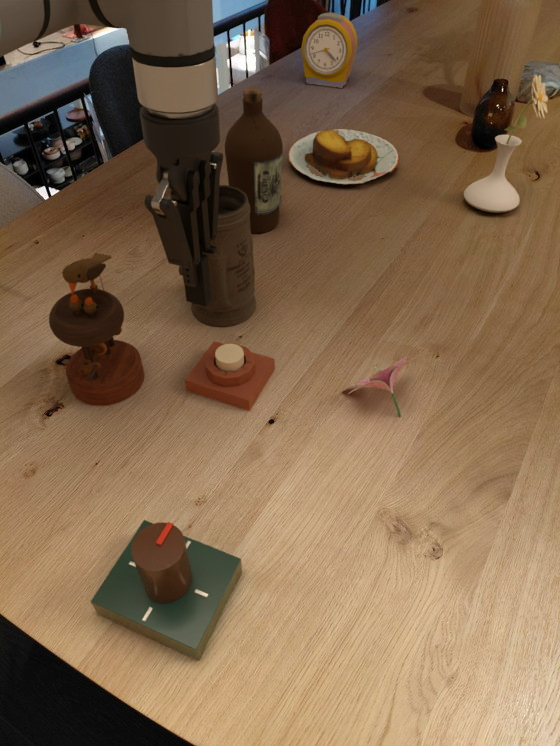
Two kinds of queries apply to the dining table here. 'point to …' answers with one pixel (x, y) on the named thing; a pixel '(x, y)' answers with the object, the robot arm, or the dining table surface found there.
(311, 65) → the alarm clock
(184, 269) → the robot arm
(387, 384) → the lily
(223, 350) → the button
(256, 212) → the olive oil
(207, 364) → the button block
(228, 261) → the beer stein
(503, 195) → the flower in vase
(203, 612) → the panel
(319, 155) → the food on plate
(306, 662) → the dining table surface
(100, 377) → the music box
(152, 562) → the knob
